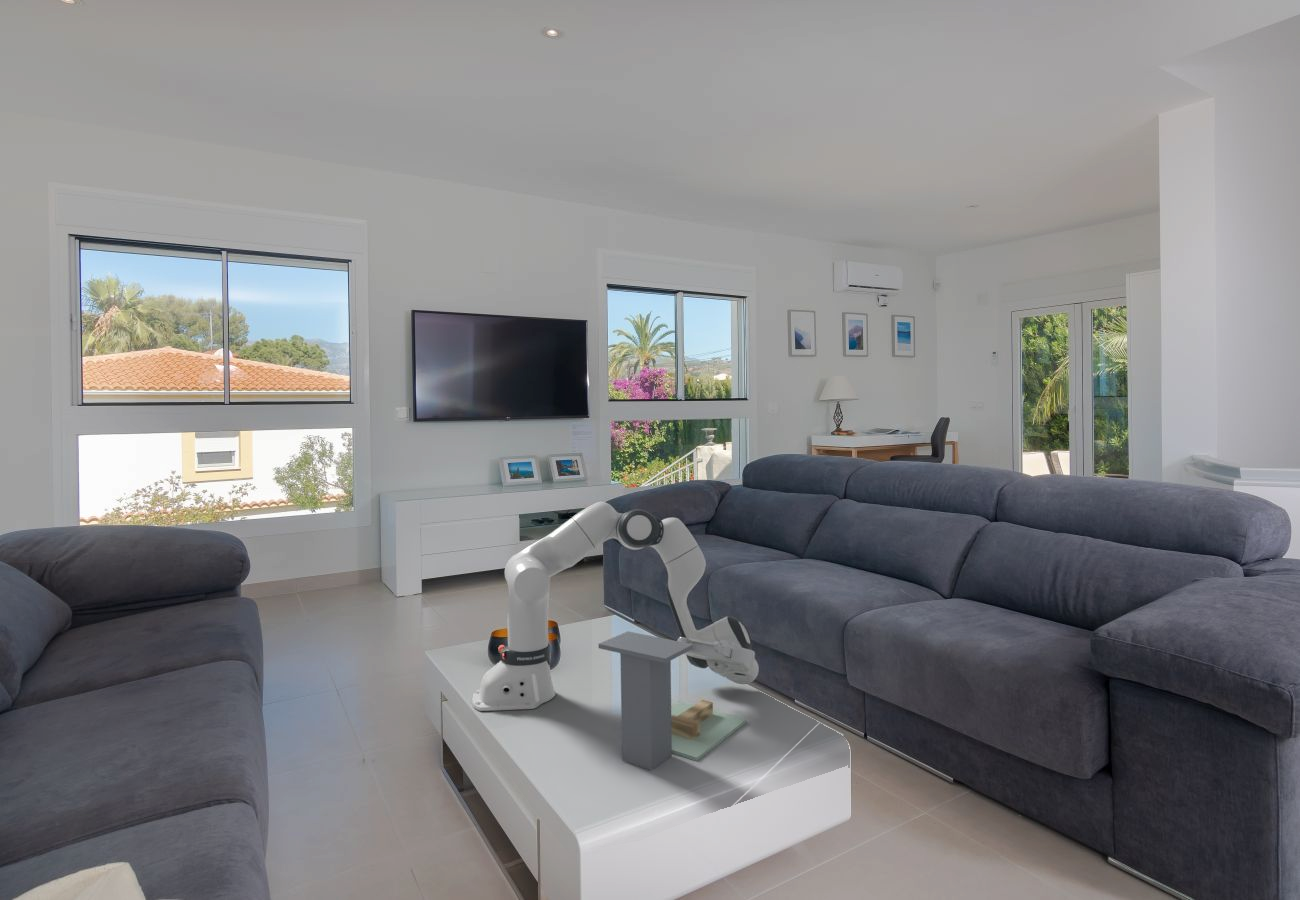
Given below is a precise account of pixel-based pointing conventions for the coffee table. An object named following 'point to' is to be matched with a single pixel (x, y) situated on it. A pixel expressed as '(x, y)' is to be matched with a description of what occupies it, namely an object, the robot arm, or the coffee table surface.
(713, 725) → the mat
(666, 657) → the stand
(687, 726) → the t bar
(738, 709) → the coffee table surface
